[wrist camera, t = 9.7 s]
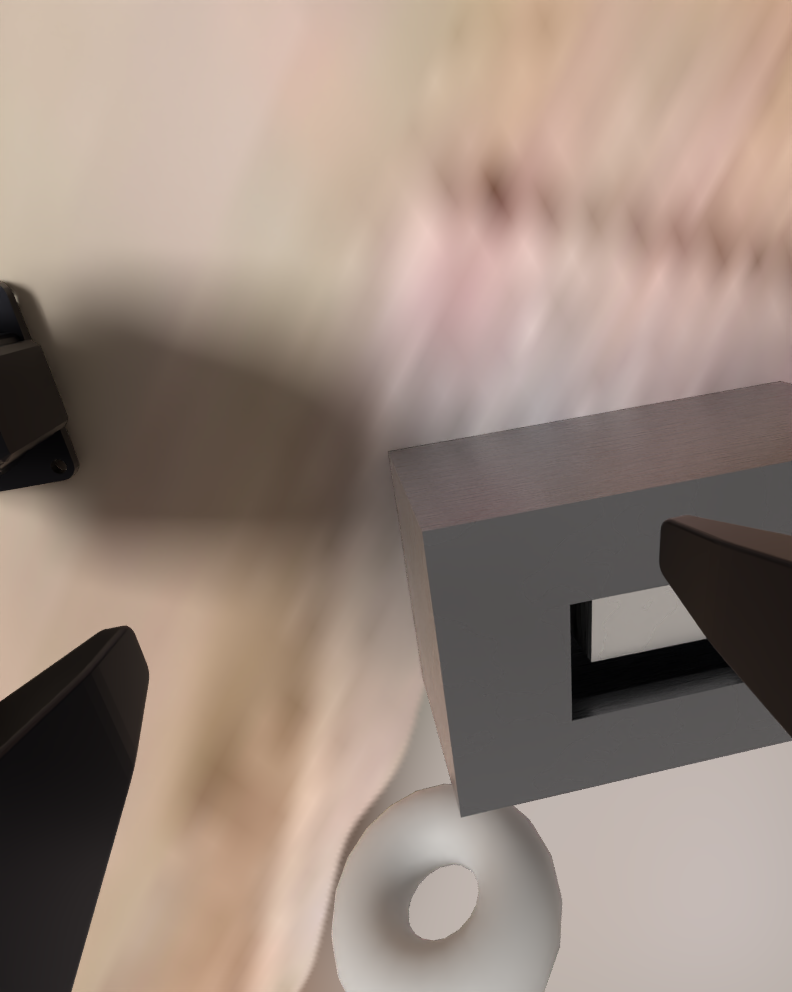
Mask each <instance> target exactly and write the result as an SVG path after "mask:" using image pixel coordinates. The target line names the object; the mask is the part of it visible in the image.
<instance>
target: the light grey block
mask: <svg viewBox="0 0 792 992" xmlns="http://www.w3.org/2000/svg"><path fill="white" fill-rule="evenodd" d="M570 633H571V634H572V636H573V637H574V639H575V640H576V641H577V643H578V644H579V646H580V647H581V648H582V650H583V651H584V653H585V654H586V655H587V657H588V658H589V660H590V661H591V662H595V661H600V660H605V659H610V658H615V657H620V656H624V655H629V654H634V653H639V652H644V651H649V650H654V649H658V648H663V647H668V646H673V645H678V644H683V643H688V642H692V641H697V640H702V639H707V638H706V637H705V635H704V634H703V632H702V631H701V630H700V628H699V627H698V625H697V624H696V622H695V621H694V620H693V618H692V617H691V615H690V614H689V612H688V611H687V609H686V608H685V607H684V605H683V604H682V602H681V601H680V599H679V598H678V596H677V595H676V594H675V592H674V591H673V589H672V588H671V586H670V585H669V584H668V585H663V586H659V587H654V588H649V589H644V590H639V591H634V592H629V593H625V594H620V595H615V596H610V597H605V598H600V599H595V600H591V601H586V602H581V603H576V604H571V605H570Z"/></svg>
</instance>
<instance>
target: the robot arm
mask: <svg viewBox="0 0 792 992" xmlns="http://www.w3.org/2000/svg"><path fill="white" fill-rule="evenodd" d="M67 420H68V416H67V413H66V411H65V408H64V406H63V403H62V400H61V398H60V395H59V393H58V390H57V387H56V385H55V382H54V380H53V377H52V374H51V372H50V369H49V367H48V364H47V361H46V359H45V356H44V354H43V351H42V348H41V347H40V345H38V344H37V343H35V342H34V341H32V340H31V338H30V335H29V332H28V330H27V327H26V325H25V322H24V320H23V317H22V314H21V312H20V309H19V307H18V304H17V302H16V299H15V296H14V294H13V292H12V291H11V289H10V287H8V286H7V285H6V284H5V283H4V282H1V281H0V491H6V490H11V489H17V488H23V487H28V486H34V485H40V484H45V483H51V482H57V481H63V480H66V479H69V478H70V477H72V476H73V475H74V474H75V473H76V472H77V471H78V468H79V461H78V458H77V456H76V453H75V451H74V448H73V445H72V443H71V440H70V438H69V435H68V433H67V430H66V427H65V424H66V422H67ZM56 460H61V461H63V462H65V464H66V465H67V470H62V469H60V468H58V466H57V465H56ZM659 566H660V570H661V572H662V574H663V576H664V578H665V579H666V581H667V582H668V583H669V585H670V586H671V588H672V589H673V591H674V592H675V594H676V595H677V596H678V598H679V599H680V601H681V602H682V604H683V605H684V607H685V608H686V609H687V611H688V612H689V614H690V615H691V617H692V618H693V620H694V621H695V622H696V624H697V625H698V627H699V628H700V630H701V631H702V632H703V634H704V635H705V637H706V638H707V639H708V641H709V642H710V643H711V645H712V646H713V647H714V648H715V649H716V651H717V652H718V653H719V654H720V656H721V657H722V658H723V659H724V660H725V661H726V663H727V664H728V665H729V666H730V667H731V668H732V669H733V671H734V672H735V673H736V674H737V675H738V676H739V678H740V679H741V680H742V681H743V682H744V683H745V685H746V686H747V687H748V688H749V689H750V690H751V692H752V693H753V694H754V695H755V696H756V697H757V699H758V700H759V701H760V702H761V703H762V704H763V705H764V707H765V708H766V709H767V710H768V711H769V712H770V714H771V715H772V716H773V717H774V718H775V719H776V721H777V722H778V723H779V724H780V725H781V726H782V728H783V729H784V730H785V731H786V732H787V733H788V735H789V736H790V737H791V738H792V536H791V535H786V534H781V533H776V532H771V531H766V530H761V529H756V528H751V527H746V526H741V525H736V524H731V523H726V522H721V521H716V520H711V519H706V518H701V517H696V516H691V515H683V516H678V517H673V518H669V519H666V520H665V521H664V522H663V523H662V525H661V530H660V549H659ZM148 684H149V670H148V666H147V663H146V660H145V658H144V655H143V653H142V650H141V648H140V645H139V643H138V640H137V638H136V635H135V633H134V631H133V630H132V629H131V628H130V627H128V626H119V627H114V628H109V629H104V630H102V631H100V632H98V633H97V634H95V635H94V636H93V637H91V638H90V639H88V640H87V641H85V642H84V643H83V644H81V645H80V646H78V647H77V648H76V649H74V650H73V651H71V652H70V653H68V654H67V655H66V656H64V657H63V658H61V659H60V660H58V661H57V662H56V663H54V664H53V665H51V666H50V667H49V668H47V669H46V670H44V671H43V672H41V673H40V674H39V675H37V676H36V677H34V678H33V679H31V680H30V681H29V682H27V683H26V684H24V685H23V686H22V687H20V688H19V689H17V690H16V691H14V692H13V693H12V694H10V695H9V696H7V697H6V698H5V699H3V700H2V701H0V992H71V991H72V988H73V984H74V980H75V977H76V973H77V970H78V966H79V963H80V959H81V956H82V952H83V949H84V945H85V942H86V938H87V935H88V931H89V928H90V924H91V920H92V917H93V913H94V910H95V906H96V903H97V899H98V896H99V892H100V889H101V885H102V882H103V878H104V875H105V871H106V867H107V864H108V860H109V857H110V853H111V850H112V846H113V843H114V839H115V836H116V832H117V829H118V825H119V822H120V818H121V815H122V811H123V807H124V804H125V800H126V797H127V793H128V790H129V786H130V783H131V779H132V775H133V771H134V767H135V762H136V757H137V751H138V745H139V739H140V733H141V726H142V720H143V714H144V708H145V702H146V696H147V690H148Z"/></svg>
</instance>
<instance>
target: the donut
mask: <svg viewBox="0 0 792 992" xmlns="http://www.w3.org/2000/svg"><path fill="white" fill-rule="evenodd" d="M449 865H461V866H463V867H465V868H467V869H469V870H471V871H472V872H473V873H474V875H475V877H476V880H477V882H478V897H477V903H476V906H475V908H474V910H473V912H472V914H471V916H470V918H469V919H468V920H467V921H466V922H465V924H464V925H463V926H462V927H461V928H460V929H459V930H458V931H456V932H455V933H453V934H451V935H449V936H448V937H446V938H444V939H439V940H434V941H433V940H428V939H423V938H421V937H419V936H417V935H416V934H415V933H414V931H413V930H412V928H411V927H410V923H409V906H410V902H411V898H412V896H413V895H414V893H415V891H416V889H417V887H418V886H419V884H420V883H421V882H422V881H423V880H424V879H425V878H426V877H427V876H428V875H429V874H430V873H432V872H434V871H435V870H437V869H439V868H440V867H445V866H449ZM561 915H562V898H561V893H560V889H559V885H558V881H557V876H556V872H555V868H554V864H553V860H552V856H551V854H550V852H549V851H548V849H547V847H546V846H545V844H544V842H543V841H542V839H541V837H540V836H539V834H538V832H537V831H536V829H535V827H534V826H533V824H532V823H531V821H530V820H529V819H528V818H527V817H526V816H525V815H524V814H522V813H521V812H520V811H519V810H518V809H517V808H515V807H514V806H509V807H504V808H500V809H496V810H491V811H487V812H483V813H479V814H474V815H470V816H466V817H461V816H460V812H459V809H458V805H457V801H456V798H455V794H454V790H453V787H452V784H442V785H438V786H434V787H430V788H426V789H422V790H419V791H415V792H414V793H412V794H410V795H409V796H407V797H405V798H403V799H401V800H400V801H398V802H396V803H394V804H393V805H391V806H389V807H388V808H387V809H386V810H385V811H384V812H383V813H382V814H381V815H380V816H379V817H378V818H377V819H376V820H375V821H374V822H373V823H372V824H371V825H370V826H369V827H368V828H367V829H366V830H365V832H364V833H363V835H362V836H361V838H360V839H359V841H358V842H357V844H356V846H355V847H354V849H353V850H352V852H351V853H350V855H349V856H348V859H347V861H346V864H345V867H344V870H343V872H342V875H341V878H340V881H339V884H338V886H337V889H336V895H335V904H334V914H333V923H332V935H331V937H332V943H333V949H334V955H335V961H336V967H337V973H338V976H339V979H340V982H341V984H342V986H343V988H344V989H345V992H544V991H545V988H546V985H547V982H548V979H549V977H550V974H551V971H552V968H553V965H554V962H555V959H556V956H557V954H558V951H559V948H560V935H561Z"/></svg>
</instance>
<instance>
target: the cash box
mask: <svg viewBox="0 0 792 992" xmlns="http://www.w3.org/2000/svg"><path fill="white" fill-rule="evenodd" d="M388 454H389V461H390V467H391V474H392V480H393V487H394V493H395V500H396V506H397V513H398V519H399V526H400V532H401V539H402V545H403V552H404V558H405V565H406V571H407V578H408V585H409V591H410V598H411V604H412V611H413V617H414V624H415V630H416V637H417V643H418V650H419V656H420V663H421V669H422V676H423V681H424V684H425V688H426V692H427V695H428V699H429V703H430V706H431V710H432V713H433V717H434V721H435V724H436V728H437V731H438V735H439V739H440V743H441V746H442V750H443V754H444V757H445V761H446V764H447V768H448V772H449V776H450V779H451V783H452V787H453V790H454V794H455V798H456V801H457V805H458V809H459V812H460V816H461V817H466V816H470V815H474V814H479V813H483V812H487V811H491V810H496V809H500V808H504V807H509V806H513V805H517V804H521V803H526V802H530V801H534V800H538V799H543V798H547V797H551V796H556V795H560V794H564V793H569V792H573V791H577V790H582V789H586V788H590V787H594V786H599V785H603V784H607V783H611V782H616V781H620V780H624V779H629V778H633V777H637V776H641V775H646V774H650V773H654V772H659V771H663V770H667V769H671V768H676V767H680V766H684V765H688V764H693V763H697V762H702V761H706V760H710V759H714V758H719V757H723V756H727V755H732V754H735V753H740V752H745V751H749V750H753V749H757V748H762V747H766V746H770V745H775V744H779V743H783V742H788V741H792V738H791V737H790V736H789V735H788V733H787V732H786V731H785V730H784V729H783V728H782V726H781V725H780V724H779V723H778V722H777V721H776V719H775V718H774V717H773V716H772V715H771V714H770V712H769V711H768V710H767V709H766V708H765V707H764V705H763V704H762V703H761V702H760V701H759V700H758V699H757V697H756V696H755V695H754V694H753V693H752V692H751V690H750V689H749V688H748V687H747V686H746V685H745V683H744V682H743V681H742V680H741V679H740V678H739V676H738V675H737V674H736V673H735V672H734V671H733V669H732V668H731V667H730V666H729V665H728V664H727V663H726V661H725V660H724V659H723V658H722V657H721V656H720V654H719V653H718V652H717V651H716V649H715V648H714V647H713V646H712V645H711V643H710V642H709V641H708V639H702V640H697V641H692V642H688V643H683V644H678V645H673V646H668V647H663V648H658V649H654V650H649V651H644V652H639V653H634V654H629V655H624V656H620V657H615V658H610V659H605V660H600V661H595V662H591V661H590V660H589V658H588V657H587V655H586V654H585V653H584V651H583V650H582V648H581V647H580V646H579V644H578V643H577V641H576V640H575V639H574V637H573V636H572V634H571V633H570V605H571V604H576V603H581V602H586V601H591V600H595V599H600V598H605V597H610V596H615V595H620V594H625V593H629V592H634V591H639V590H644V589H649V588H654V587H659V586H663V585H668V584H669V583H668V582H667V581H666V579H665V578H664V576H663V574H662V572H661V570H660V566H659V549H660V530H661V525H662V523H663V522H664V521H665V520H666V519H669V518H673V517H678V516H683V515H691V516H696V517H701V518H706V519H711V520H716V521H721V522H726V523H731V524H736V525H741V526H746V527H751V528H756V529H761V530H766V531H771V532H776V533H781V534H786V535H791V536H792V384H790V383H786V382H781V381H779V382H773V383H768V384H762V385H757V386H751V387H745V388H740V389H734V390H729V391H723V392H718V393H712V394H706V395H701V396H695V397H690V398H684V399H679V400H673V401H667V402H662V403H656V404H651V405H645V406H640V407H634V408H628V409H623V410H617V411H612V412H606V413H601V414H595V415H589V416H584V417H578V418H573V419H567V420H562V421H556V422H550V423H545V424H539V425H534V426H528V427H523V428H517V429H511V430H506V431H500V432H495V433H489V434H483V435H478V436H472V437H467V438H461V439H456V440H450V441H444V442H439V443H433V444H428V445H422V446H417V447H411V448H405V449H400V450H394V451H389V452H388Z"/></svg>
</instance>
